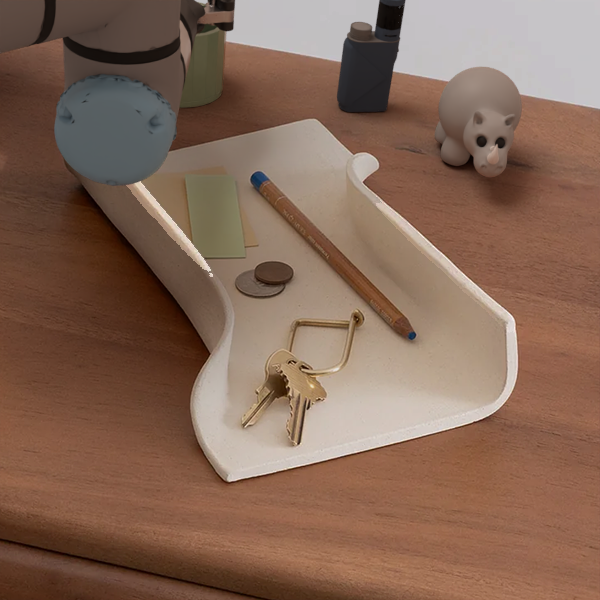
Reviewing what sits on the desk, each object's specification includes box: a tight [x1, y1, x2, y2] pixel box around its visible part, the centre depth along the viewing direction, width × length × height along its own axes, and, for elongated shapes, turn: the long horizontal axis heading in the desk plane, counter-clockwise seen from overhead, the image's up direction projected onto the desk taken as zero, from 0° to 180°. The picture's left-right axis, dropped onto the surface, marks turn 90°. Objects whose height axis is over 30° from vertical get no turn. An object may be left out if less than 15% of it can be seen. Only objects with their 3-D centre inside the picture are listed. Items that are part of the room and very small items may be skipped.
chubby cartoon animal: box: [434, 66, 523, 178], centre depth 92 cm, size 7×12×8 cm, turn 179°
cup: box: [179, 1, 228, 109], centre depth 100 cm, size 9×9×7 cm
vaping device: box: [336, 0, 406, 113], centre depth 99 cm, size 3×5×12 cm, turn 102°
